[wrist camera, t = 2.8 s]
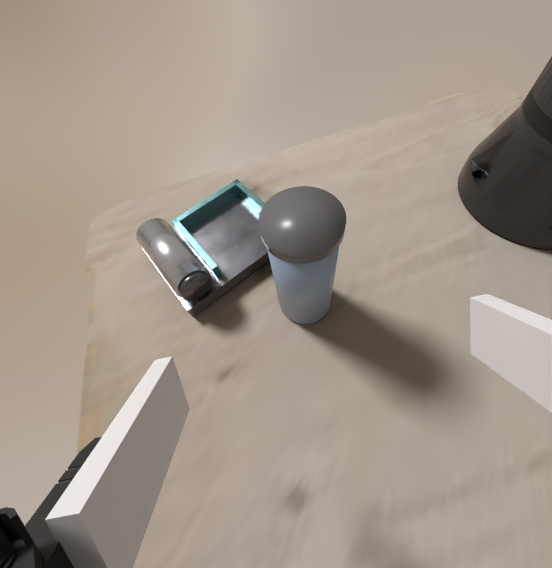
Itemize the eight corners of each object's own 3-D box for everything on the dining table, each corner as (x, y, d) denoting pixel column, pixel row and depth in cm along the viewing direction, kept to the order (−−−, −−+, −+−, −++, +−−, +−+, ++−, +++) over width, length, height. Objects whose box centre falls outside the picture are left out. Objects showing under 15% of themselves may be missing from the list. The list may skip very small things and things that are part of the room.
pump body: (306, 266, 30) (305, 174, 20) (344, 301, 28) (365, 218, 17) (266, 298, 29) (241, 217, 18) (302, 337, 27) (297, 271, 16)
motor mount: (239, 195, 36) (229, 161, 32) (292, 243, 32) (288, 211, 27) (148, 255, 33) (123, 227, 29) (192, 317, 29) (171, 294, 24)
